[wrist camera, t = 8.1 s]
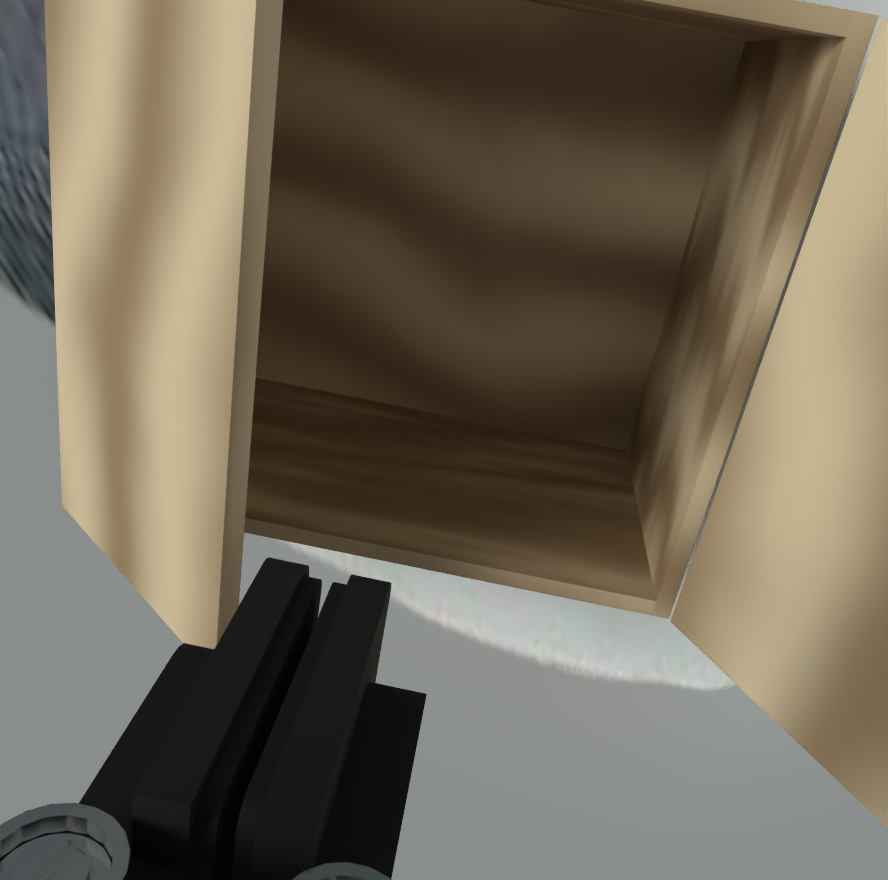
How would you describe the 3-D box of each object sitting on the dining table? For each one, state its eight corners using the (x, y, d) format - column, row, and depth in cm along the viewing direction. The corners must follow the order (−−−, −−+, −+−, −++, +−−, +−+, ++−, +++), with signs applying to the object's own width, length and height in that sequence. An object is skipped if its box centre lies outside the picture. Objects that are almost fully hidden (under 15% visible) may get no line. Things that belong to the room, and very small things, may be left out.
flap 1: (292, -122, 16) (263, -131, 15) (233, 670, 24) (214, 678, 23) (63, -129, 22) (39, -135, 21) (79, 501, 30) (62, 505, 29)
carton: (233, -70, 33) (69, -131, 22) (762, 27, 33) (878, 15, 21) (211, 377, 42) (83, 502, 30) (633, 460, 41) (667, 620, 29)
